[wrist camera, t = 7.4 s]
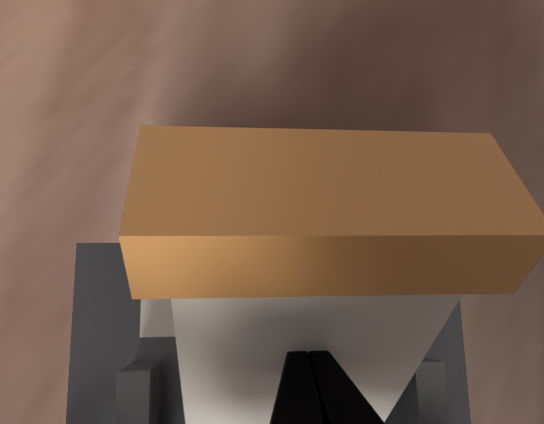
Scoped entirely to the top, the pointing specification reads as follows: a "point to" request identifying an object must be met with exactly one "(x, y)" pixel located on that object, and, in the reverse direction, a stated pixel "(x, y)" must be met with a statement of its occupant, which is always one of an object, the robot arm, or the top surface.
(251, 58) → the top surface
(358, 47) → the top surface
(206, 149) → the lever
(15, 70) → the top surface
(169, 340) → the box
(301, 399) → the robot arm
